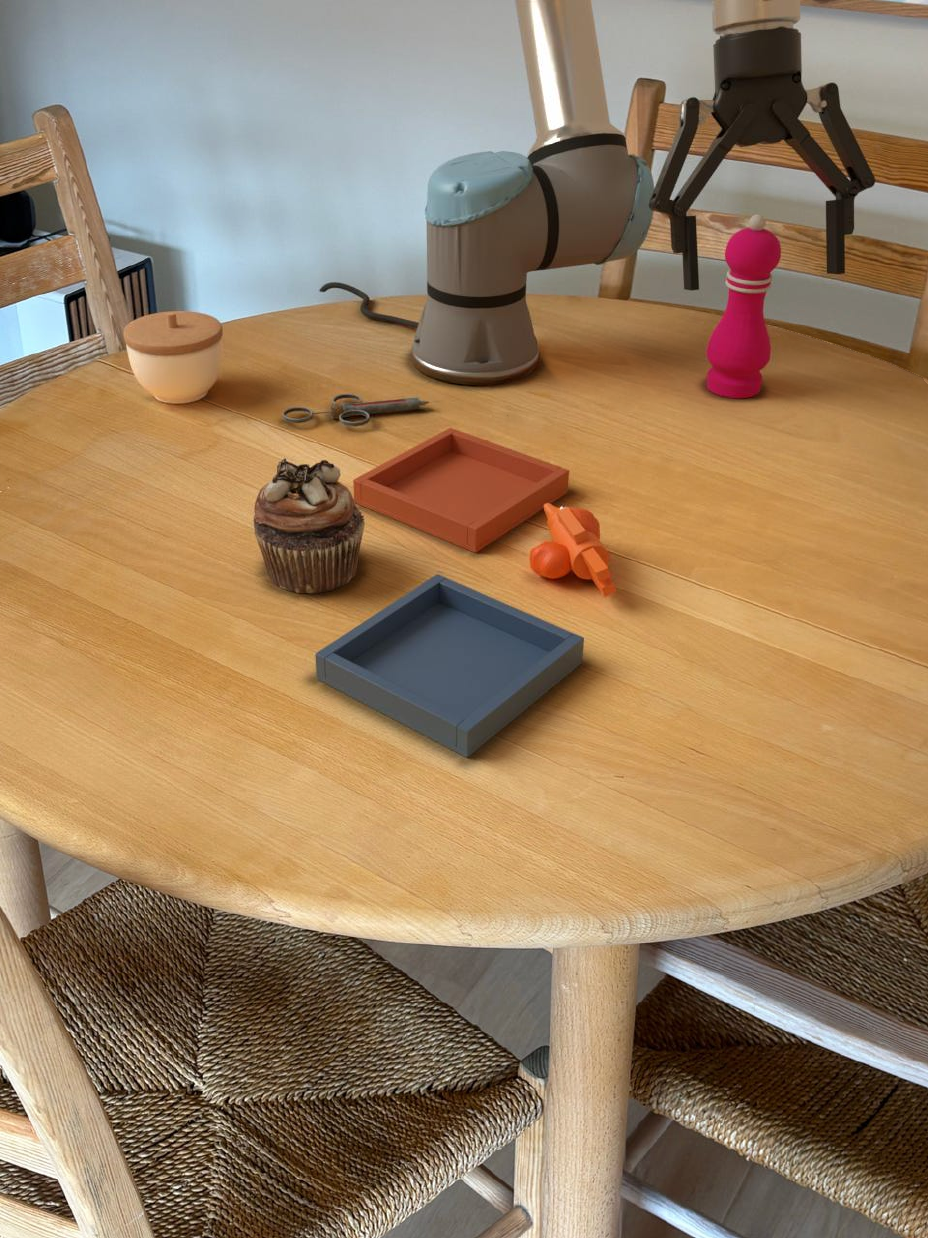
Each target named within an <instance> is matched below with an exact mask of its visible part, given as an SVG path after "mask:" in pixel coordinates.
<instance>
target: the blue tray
mask: <svg viewBox="0 0 928 1238" xmlns="http://www.w3.org/2000/svg"><path fill="white" fill-rule="evenodd" d="M584 645H585V637H583V636H581V635H579V634H577V633H574V632H571V631H570V630H567V629H565V628H562V627H560V626H557V625H555V624H553V623H551V622H549V621H547V620H545V619H542V618H540V617H537V616H536V615H532V614H530V613H528V612H526V611H523V610H521V609H519V608H517V607H514V606H512V605H510V604H508V603H505V602H503V601H501V600H498V599H496V598H493V597H491V596H489V595H487V594H485V593H482V592H480V591H478V590H476V589H473V588H470V587H468V586H466V585H463V584H461V583H459V582H457V581H454V580H452V579H450V578H448V577H446V576H444V575H441V574H439V573H436V574H435V575H434V576H432V577H430V578H429V579H427V580H426V581H424V582H422V583H421V584H419V585H418V586H417V587H415V588H413V589H412V590H410V591H409V592H407V593H406V594H404V595H402V596H401V597H400V598H398V599H396V600H395V601H393V602H392V603H390V604H389V605H387V606H386V607H385V608H383V609H381V610H380V611H378V612H377V613H375V614H373V615H372V616H370V617H369V618H367V619H366V620H364V621H363V622H361V623H360V624H359V625H357V626H355V627H353V628H352V629H351V630H349V631H348V632H346V633H344V634H343V635H341V636H340V637H339V638H337V639H335V640H334V641H332V642H331V643H329V644H328V645H326V646H324V647H323V648H322V649H320V650H318V651H317V652H315V654H314V658H315V670H316V680H318V681H319V682H321V683H324V684H326V685H327V686H329V687H330V688H333V689H335V690H336V691H339V692H341V693H342V694H344V695H347V696H348V697H350V698H352V699H354V700H356V701H358V702H360V703H361V704H364V705H366V706H367V707H369V708H371V709H372V710H375V711H377V712H379V713H381V714H383V716H387V717H388V718H390V719H392V720H394V721H396V722H398V723H400V724H402V725H404V726H405V727H406V728H407V727H408V728H409V729H412V730H413V731H415V732H417V733H419V734H420V735H422V736H425V737H427V738H428V739H431V740H433V742H436V743H438V744H440V745H442V746H444V747H446V748H447V749H449V750H451V751H453V752H455V753H457V754H459V755H461V756H462V757H464V758H466V759H467V758H470V757H471V756H472V754H474V753H475V752H476V751H478V750H479V749H480V748H481V747H482V746H484V745H485V744H486V743H487V742H489V740H491V739H492V738H493V737H494V736H495V735H497V734H498V733H499V732H500V731H502V730H503V729H504V728H505V727H506V726H508V725H509V724H510V723H511V722H512V721H514V720H515V719H516V718H517V717H519V716H520V715H521V714H523V712H525V711H526V710H527V709H529V708H530V707H531V706H532V705H533V704H534V703H535V702H537V701H538V700H539V699H540V698H542V697H543V696H544V695H545V694H547V693H548V692H549V691H550V690H551V689H553V687H555V686H556V685H558V684H559V683H560V682H561V681H562V680H564V678H566V677H567V676H568V675H570V674H571V673H572V672H573V671H574V670H575V669H577V668H578V667H579V666H580V665H582V664H583V658H584Z"/></svg>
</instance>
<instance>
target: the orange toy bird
mask: <svg viewBox="0 0 928 1238" xmlns="http://www.w3.org/2000/svg"><path fill="white" fill-rule="evenodd" d="M543 510H544V513H545V515H546V518H547V529H548V531H549V536H550V539H551V540H544V541H543V542H541V543H540V544H539V545H537V546H535V547H532V548H531V550H530V551H529V566H530V569H531V570H532V571H533V572H534V573H535V574H536V575H538V576H539V577H540V578H548V579H553V580H554V579H559V578H563V577H564V576H566V575H567V574H569V572H571V570H572V572H573V573H574V574H575V575H576V576H577V577H578V578H579V579H582V580H588V581H591V580H592V581H593V582H594V584H595V586H596V587H597V588H598V590H599V591H600V592H601V594H602V596H603V597H605V598H606V597H608V596H610V595H613V594H615V593H616V592H617V589H616V585H615V582H614V581H613V580H612V578H611V572H610V570H609V567H608V566H609V565H610V560H611V559H610V554H609V551H608V550H607V548H606V547H605V546H604V545H603V543H602V541H600V540H601V527H600V526H601V525H600V522H599V520H598V519H597V517H596V516H595V515H594V513H592V512H591V511H589V510H588V509H585V508H579V507H568V506H566V505H562V506H560V507H558V506H554V505H553V504H552V503H551V504H550V503H546V504H545V505H544V508H543Z"/></svg>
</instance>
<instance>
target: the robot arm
mask: <svg viewBox="0 0 928 1238" xmlns="http://www.w3.org/2000/svg"><path fill="white" fill-rule="evenodd" d="M514 3H515V10H516V17H517V20H518V21H517V23H518V28H519V34H520V35H519V36H520V41H521V47H522V53H523V59H524V65H525V71H526V78H527V84H528V91H529V97H530V102H531V109H532V116H533V121H534V128H535V134H536V139H535V142H534V143H533V144H532V146H531V148H530V149H529V150H528V152H527V154H526V155H524V154H521V153H520V152H519V153H518V152H516V151H515V152H513V151H507V150H501V151H497V152H493V151H489V150H488V151H480V152H473V153H468V154H465V155H464V154H463V155H461V156H458V157H455V158H452V159H449V160H447V161H445V162H444V163H442V164H440V165H439V166H438V167H437V168H436V169H435V170H434V171H433V172H432V173H431V174H430V177H429V179H428V183H427V194H426V195H427V198H426V205H425V208H424V215H425V221H426V298H425V299H426V300H425V303H424V306H423V309H422V312H421V315H420V318H419V321H418V322H417V321H413V320H409V319H405V318H401V317H397V316H393V315H388V314H384V313H383V314H382V313H377V312H373V311H371V310H369V309H367V307H368V306H369V304H370V297H369V295H368V294H367V293H366V292H363V291H362V290H360V289H358V288H356V287H354V286H352V285H349V284H346V283H343V282H337V281H332V282H331V281H330V282H328V283H324V284H323V285H322V286H321V287H320V288H319V290H318V292H320V293H326V292H327V291H329V290H330V289H341V290H344V291H346V292H349V293H351V294H354V295H355V296H357V297H359V298H360V299H361V300H363V301H362V302H361V304H360V307H359V310H360V313H362V315H364V316H365V317H367V318H370V319H374V320H378V321H383V322H389V323H394V324H398V325H403V326H407V327H409V328H413V329H416V331H415V334H414V337H413V339H412V340H413V341H412V346H411V360H412V361H411V362H412V364H413V366H414V367H415V369H417V370H418V371H419V372H421V373H422V374H424V375H426V376H428V377H431V378H433V379H435V380H438V381H441V382H446V383H452V384H458V385H468V386H469V385H472V386H473V385H474V386H479V385H480V386H483V385H495V384H503V383H508V382H512V381H515V380H518V379H521V378H524V377H525V376H527V375H529V374H531V373H532V372H533V371H535V370H536V368H537V366H538V364H539V355H540V354H539V353H540V351H539V349H540V348H539V342H538V339H537V337H536V335H535V331H534V326H533V321H532V318H531V314H530V310H529V307H528V302H527V281H528V280H527V277H528V273H531V272H537V271H546V270H554V269H562V268H570V267H571V268H572V267H578V266H587V265H592V264H593V265H596V266H601V265H603V264H606V263H609V262H614V261H620V260H624V259H627V258H629V257H631V256H633V255H634V254H636V253H637V252H638V251H639V249H640V248H641V247H642V245H643V244H644V242H645V240H646V238H647V236H648V232H649V230H650V228H651V225H652V222H653V217H654V212H657V213H660V214H664V215H666V216H667V217H668V219H669V227H670V229H669V230H670V246H671V247H670V248H671V250H672V252H673V254H682V273H683V274H682V275H683V290H685V291H699V290H700V279H699V278H700V277H699V256H698V255H699V254H698V234H697V233H698V232H697V215H687V212H688V211H689V210H690V208H691V207H692V206H693V204H694V202H696V200H697V198H698V197H699V196H700V194H701V192H702V191H703V190H704V188H705V187H706V185H707V184H708V183H709V181H710V179H711V178H712V176H713V175H714V173H715V172H716V171H717V169H718V168H719V167H720V166H721V164H722V162H723V161H724V160H725V158H726V156H727V155H728V154H729V153H730V152H731V150H732V149H733V148H734V146H737V147H739V148H746V147H752V146H755V145H758V144H760V145H773V144H779V143H781V142H782V141H783V142H784V143H785V144H786V145H787V146H788V147H790V148H791V149H793V150H794V152H795V153H796V154H797V156H799V157H800V159H801V160H802V161H803V162H804V163H805V164H806V165H807V166H808V167H809V169H810V170H811V171H812V173H814V174H815V175H816V177H817V178H818V179H819V180H820V182H822V184H823V185H824V186H825V187H826V188H827V189H828V190H829V192H831V194H832V195H833V196H834V198H835V199H831V200H825V234H826V235H825V239H826V240H825V243H826V244H825V245H826V246H825V247H826V248H825V249H826V252H825V253H826V254H825V255H826V274H829V275H845V274H846V253H845V252H846V251H845V250H846V249H845V240H846V239H845V238H846V237H845V236H849V235H853V233H854V230H855V199H856V197H857V196H858V195H859V194H860V193H862V192H863V191H866V190H867V189H871V188H873V187H874V186H875V184H876V177H875V175H874V173H873V171H872V168H871V167H870V165H869V162H868V161H867V159H866V157H865V155H864V152H863V151H862V149H861V147H860V144H859V143H858V140H857V139H856V136H855V135H854V132H853V130H852V128H851V126H850V124H849V122H848V120H847V118H846V117H845V114H844V112H843V110H842V108H841V99H840V92H839V91H840V90H839V86H838V84H837V83H836V82H829V83H825V84H822V85H820V86H818V87H815V88H811V89H805V86H804V85H803V81H802V73H803V71H802V70H803V68H802V65H803V64H802V62H803V61H802V32H800V31H799V29H798V28H794V25H795V24H797V23H799V22H800V20H801V0H711V17H712V18H711V21H712V24H711V25H712V32H713V33H714V34H715V35H719V39H716V40H715V43H714V44H713V45H712V47H713V48H712V49H713V51H712V52H713V72H714V73H713V74H714V77H713V78H714V95H713V97H712V99H698V98H697V97H695V96H692V97H689V98H686V99H684V100H682V101H681V103H680V104H679V115H678V116H679V117H678V128H677V130H676V133H675V135H674V138H673V140H672V142H671V145H670V148H669V149H668V150H669V151H668V153H667V155H666V158H665V161H664V163H663V165H662V168H661V171H660V174H659V176H658V178H657V181H656V184H655V183H654V177H653V174H652V171H651V169H650V166H648V165H647V162H646V160H645V159H644V158H642V157H641V156H638V155H636V154H629V150H628V145H627V139H626V134H625V132H624V131H621V130H620V129H619V128H617V127H616V126H615V125H613V124H612V123H611V122H610V115H609V109H608V103H607V96H606V89H605V82H604V74H603V69H602V63H601V56H600V49H599V43H598V36H597V31H596V24H595V17H594V11H593V4H592V0H514ZM807 104H808V105H809V106H810V108H811V110H812V111H813V112H814V113H815V114H818V116H819V119H820V122H821V124H822V126H823V128H824V130H825V132H826V134H827V136H828V138H829V140H830V142H831V144H832V146H833V149H834V150H835V152H836V154H837V156H838V158H839V160H840V162H841V164H842V166H843V168H844V170H845V172H846V174H847V175H846V174H845V173H844V172H843V171H842V169H841V168H840V167H839V166H838V165H837V164H836V163H835V161H833V159H832V158H831V157H830V156H829V155H828V154H827V153H826V152H825V150H824V149H823V148H822V147H821V146H820V144H819V143H818V142H817V141H816V140H815V138H813V136H812V135H811V133H810V131H809V129H808V127H806V126H805V125H804V124H803V122H802V121H801V120H800V119H799V117H800V116H801V114H802V113H803V111H804V109H805V107H806V106H807ZM709 114H710V115H711V117H712V118H713V119H714V121H716V123H717V124H718V126H719V127H720V130H719V131H718V133H717V134H716V136H715V137H714V139H713V140H712V142H711V144H710V145H709V147H708V149H707V150H706V152H705V153H704V155H703V156H702V158H701V159H700V160H699V162H698V164H697V165H696V167H694V170H693V171H692V173H691V174H690V175H689V177H688V178H687V180H686V181H685V182H684V184H683V185H682V187H681V188H680V190H679V192H678V193H677V194H676V195H675V197H674V198H673V199H671V197H672V194H673V193H674V189H675V187H676V184H677V182H678V180H679V177H680V174H681V173H682V169H683V167H684V165H685V162H686V159H687V157H688V154H689V153H690V150H691V147H692V144H693V142H694V140H695V138H696V137H695V136H696V134H697V131H698V127H699V126H701V125H703V124H704V123H705V121H706V119H707V116H708V115H709Z"/></svg>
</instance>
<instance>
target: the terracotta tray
mask: <svg viewBox="0 0 928 1238" xmlns="http://www.w3.org/2000/svg"><path fill="white" fill-rule="evenodd" d="M569 479H570V469H568V468H567V469H566V468H564V467H561V466H559V465H556V464H552V463H550V462H548V461H545V460H542V459H539V458H537V457H533V456H531V455H528V454H526V453H522V452H519V451H517V450H515V449H512V448H508V447H506V446H503V445H500V444H497V443H494V442H491V441H490V440H486V439H484V438H480V437H477V436H476V435H472V434H469V433H466V432H463V431H462V430H461V431H460V430H457V429H455V428H452V427H449V428H447V429H445V430H443V431H442V432H440V433H438V434H436V435H434V436H432V437H430V438H429V439H426V440H424V441H423V442H421V443H419V444H417V445H415V446H413V447H412V448H410V449H408V450H406V451H404V452H403V453H400V454H399V455H397V456H394V457H393V458H391V459H389V460H387V461H386V462H384V463H382V464H380V465H378V466H376V467H374V468H372V469H370V470H368V471H366V472H365V473H363V474H361V475H360V476H357V477H356V478H353V480H352V485H353V501H354V504H357V505H359V506H362V507H364V508H367V509H368V510H372V511H374V512H376V513H378V514H381V515H383V516H385V517H388V518H391V519H392V520H396V521H398V522H400V523H403V524H405V525H407V526H410V527H412V528H414V529H417V530H420V531H421V532H425V533H427V534H428V535H431V536H434V537H436V538H439V539H441V540H444V541H446V542H448V543H450V544H452V545H453V544H454V545H455V546H458V547H459V548H463V549H465V550H468V551H470V552H471V553H475V554H476V553H478V552H479V551H481V550H482V549H484V548H485V547H487V546H488V545H490V544H491V543H494V541H496V540H498V539H499V538H501V537H502V536H504V535H505V534H507V533H508V532H510V531H511V530H513V529H514V528H516V527H517V526H519V525H520V524H523V523H524V522H525V521H528V519H530V518H532V516H534V515H536V514H537V513H539V512H541V511H543V510H544V505H545V504H546V503H550V504H551V505H552V504H553V503H554V502H556V501H557V500H559V499H561V497H563V496H565V495H566V494H568V492H569Z"/></svg>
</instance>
